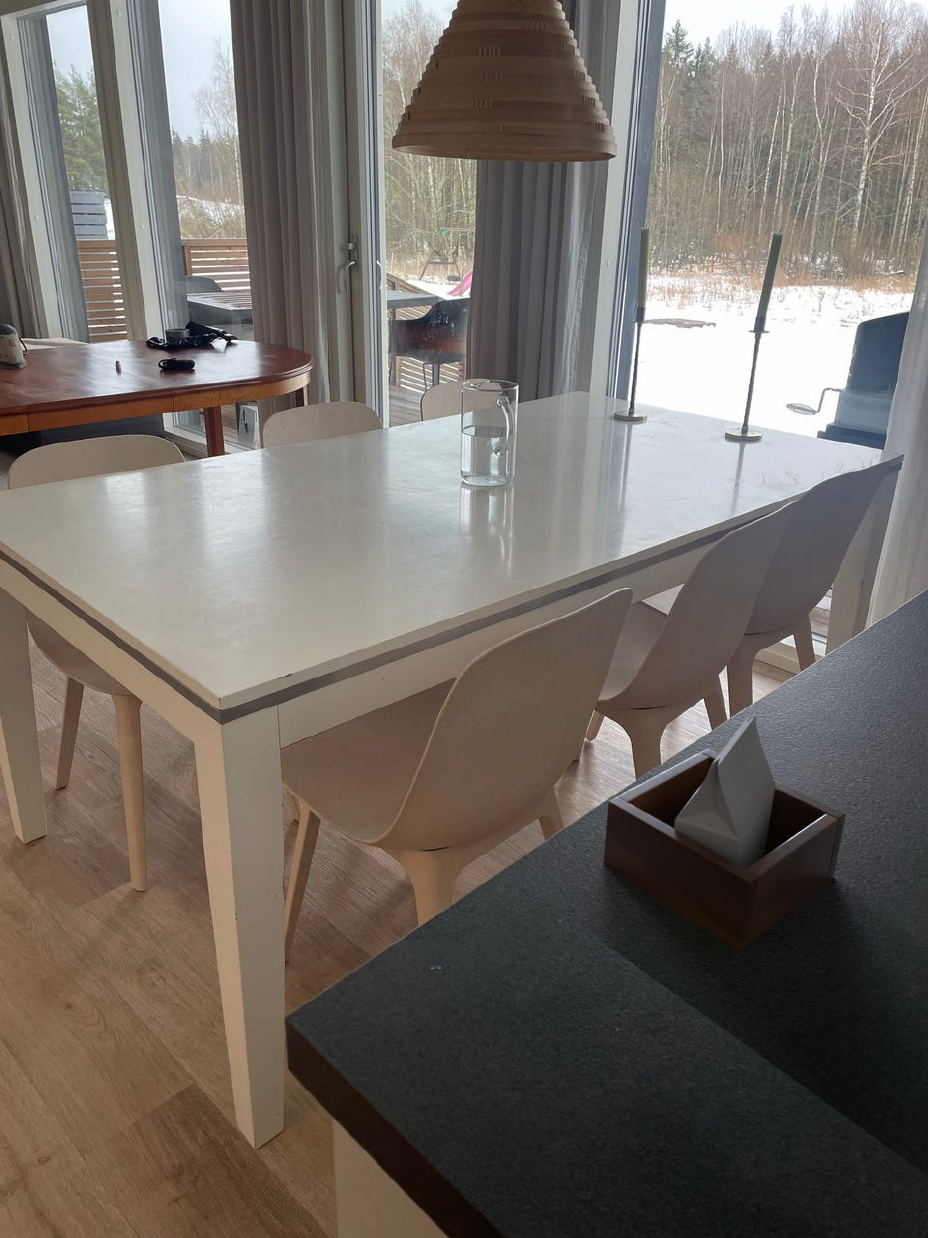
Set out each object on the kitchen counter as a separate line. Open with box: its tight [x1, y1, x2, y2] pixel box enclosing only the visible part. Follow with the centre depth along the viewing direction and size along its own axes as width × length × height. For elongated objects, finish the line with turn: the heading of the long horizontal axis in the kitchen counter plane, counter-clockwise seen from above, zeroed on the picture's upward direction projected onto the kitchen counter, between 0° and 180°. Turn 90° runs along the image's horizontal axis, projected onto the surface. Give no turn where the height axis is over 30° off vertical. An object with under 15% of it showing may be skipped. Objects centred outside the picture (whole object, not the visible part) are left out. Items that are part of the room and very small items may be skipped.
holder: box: [603, 748, 846, 951], centre depth 55 cm, size 10×10×6 cm
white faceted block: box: [674, 715, 776, 869], centre depth 54 cm, size 4×7×10 cm, turn 147°
